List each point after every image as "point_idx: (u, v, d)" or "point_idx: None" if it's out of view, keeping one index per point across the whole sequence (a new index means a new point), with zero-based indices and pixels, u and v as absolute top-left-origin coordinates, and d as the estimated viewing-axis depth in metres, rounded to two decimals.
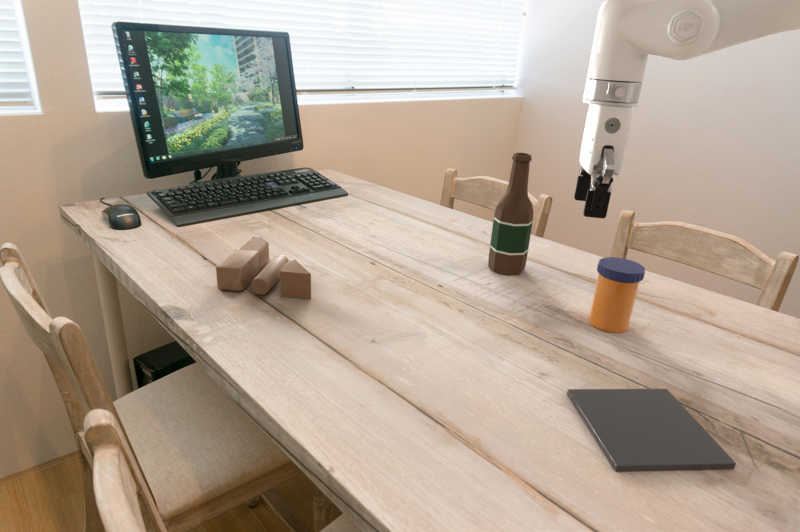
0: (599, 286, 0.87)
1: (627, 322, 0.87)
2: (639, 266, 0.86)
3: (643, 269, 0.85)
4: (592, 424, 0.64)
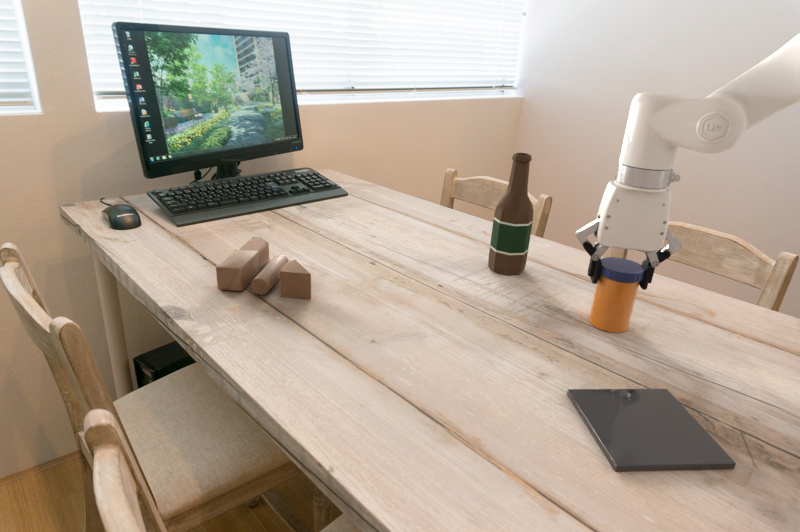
0: (599, 286, 0.87)
1: (627, 322, 0.87)
2: (639, 266, 0.86)
3: (643, 269, 0.85)
4: (592, 424, 0.64)
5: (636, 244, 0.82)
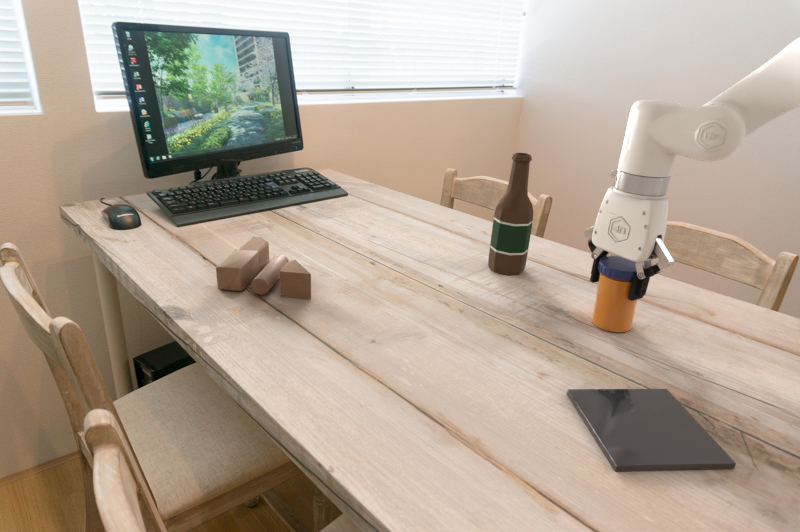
0: (600, 286, 0.87)
1: (630, 321, 0.87)
2: (606, 258, 0.88)
3: (610, 256, 0.89)
4: (592, 424, 0.64)
5: None
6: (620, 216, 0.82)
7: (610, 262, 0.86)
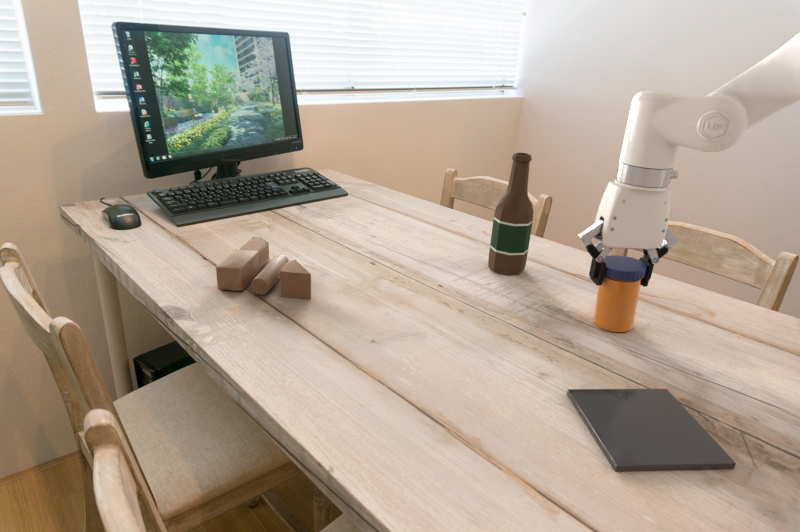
0: (601, 286, 0.87)
1: (632, 321, 0.87)
2: (604, 259, 0.88)
3: None
4: (592, 424, 0.64)
5: (640, 243, 0.83)
6: None
7: (611, 263, 0.86)
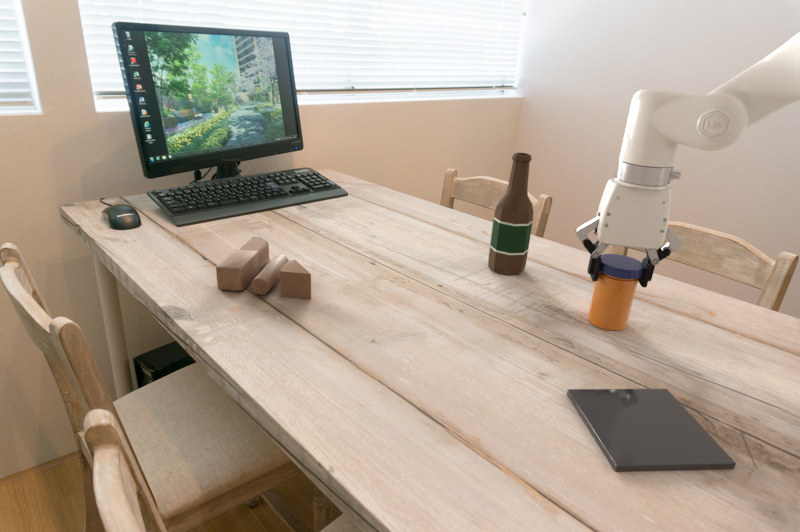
0: (600, 286, 0.87)
1: (627, 319, 0.88)
2: (625, 268, 0.84)
3: (616, 267, 0.84)
4: (592, 424, 0.64)
5: (636, 242, 0.82)
6: None
7: (630, 265, 0.85)
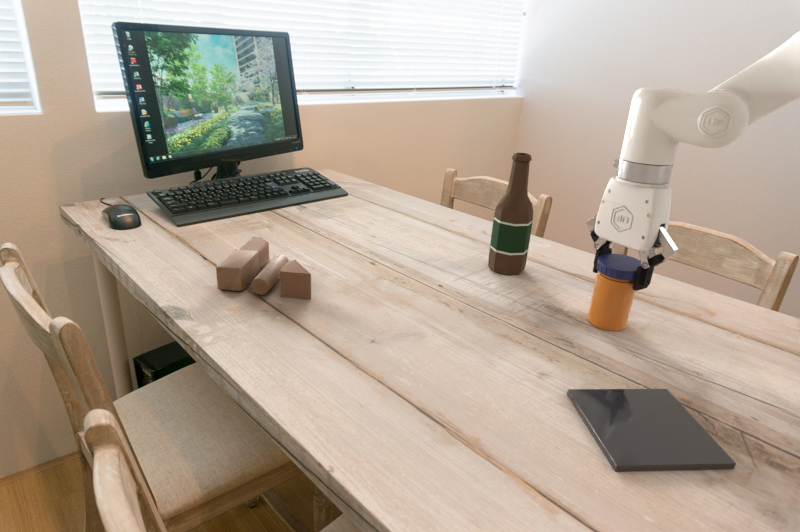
0: (600, 287, 0.87)
1: (627, 319, 0.88)
2: (632, 258, 0.87)
3: (639, 261, 0.86)
4: (592, 424, 0.64)
5: None
6: (623, 205, 0.81)
7: (620, 257, 0.87)
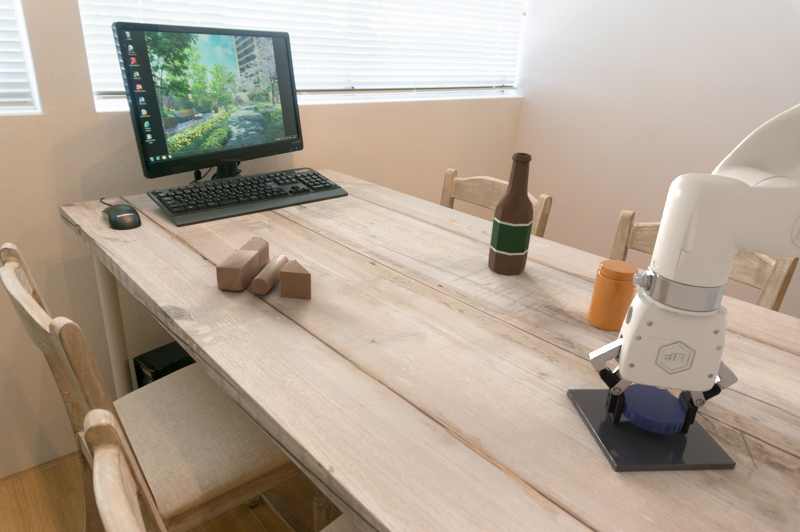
0: (599, 286, 0.87)
1: None
2: (647, 387, 0.65)
3: (658, 388, 0.65)
4: (592, 424, 0.64)
5: None
6: (677, 340, 0.57)
7: (639, 393, 0.64)
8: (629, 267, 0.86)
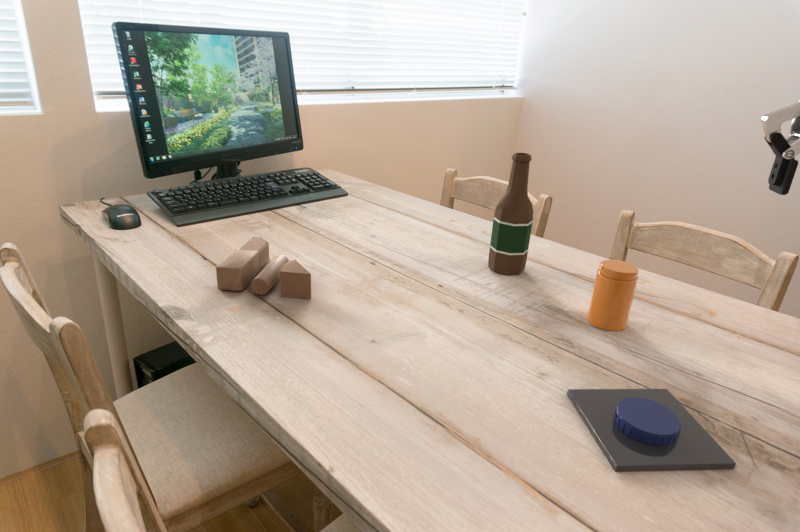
0: (599, 286, 0.87)
1: (627, 319, 0.88)
2: (642, 400, 0.66)
3: (653, 401, 0.66)
4: (592, 424, 0.64)
5: None
6: None
7: (634, 406, 0.65)
8: (629, 267, 0.86)
